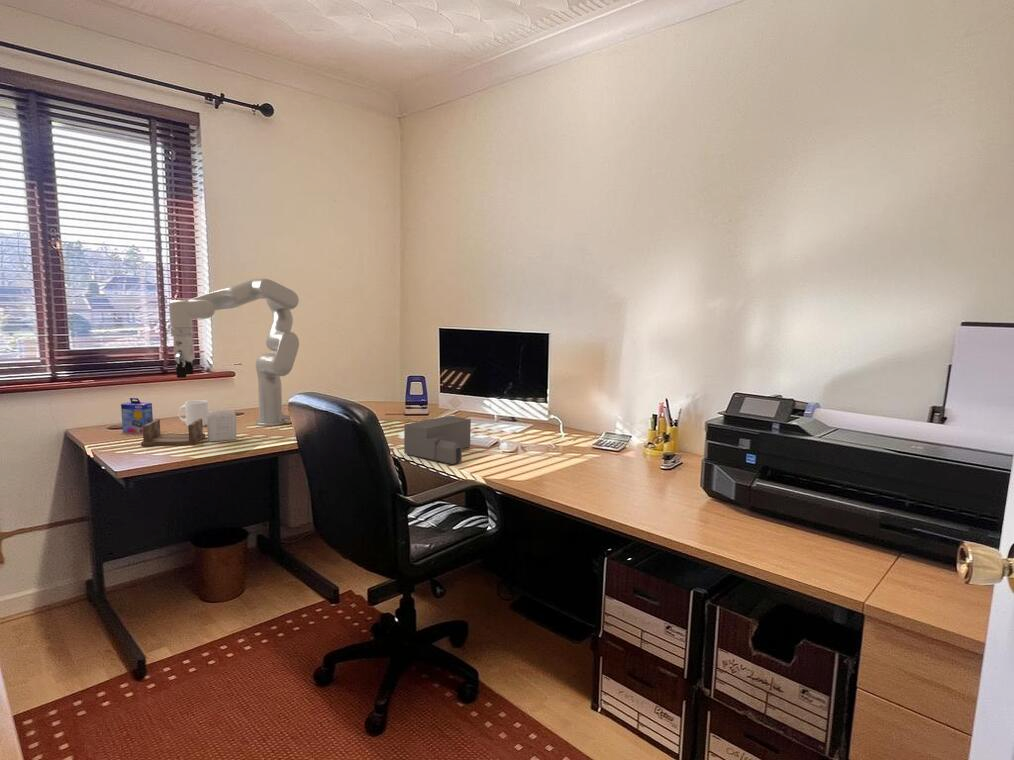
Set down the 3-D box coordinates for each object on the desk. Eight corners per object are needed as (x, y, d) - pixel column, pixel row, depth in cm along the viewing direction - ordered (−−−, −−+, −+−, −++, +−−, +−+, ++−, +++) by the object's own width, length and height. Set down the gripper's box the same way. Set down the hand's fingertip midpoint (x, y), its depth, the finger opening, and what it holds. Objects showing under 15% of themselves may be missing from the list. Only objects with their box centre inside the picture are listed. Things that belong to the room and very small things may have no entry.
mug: (183, 423, 254) (182, 399, 253) (211, 424, 255) (211, 400, 254) (174, 427, 245) (173, 402, 244) (203, 427, 246) (202, 403, 245)
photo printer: (235, 437, 229) (234, 407, 228) (237, 440, 226) (236, 409, 224) (206, 440, 223) (205, 409, 222) (208, 442, 220) (207, 411, 218)
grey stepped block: (451, 464, 199) (451, 433, 198) (404, 453, 212) (404, 424, 211) (494, 451, 219) (495, 423, 218) (449, 442, 233) (449, 415, 231)
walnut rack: (154, 438, 225) (154, 419, 224) (205, 436, 229) (204, 418, 228) (141, 446, 211) (140, 426, 210) (194, 444, 216) (194, 425, 215)
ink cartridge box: (121, 433, 232) (119, 398, 230) (131, 430, 237) (129, 396, 235) (145, 434, 231) (143, 398, 229) (154, 431, 237) (152, 396, 235)
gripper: (186, 333, 215) (189, 378, 217) (198, 330, 231) (201, 372, 234) (164, 333, 213) (167, 379, 215) (178, 331, 230) (181, 373, 232)
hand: (185, 375), depth 225 cm, fingers open, 9 cm apart
